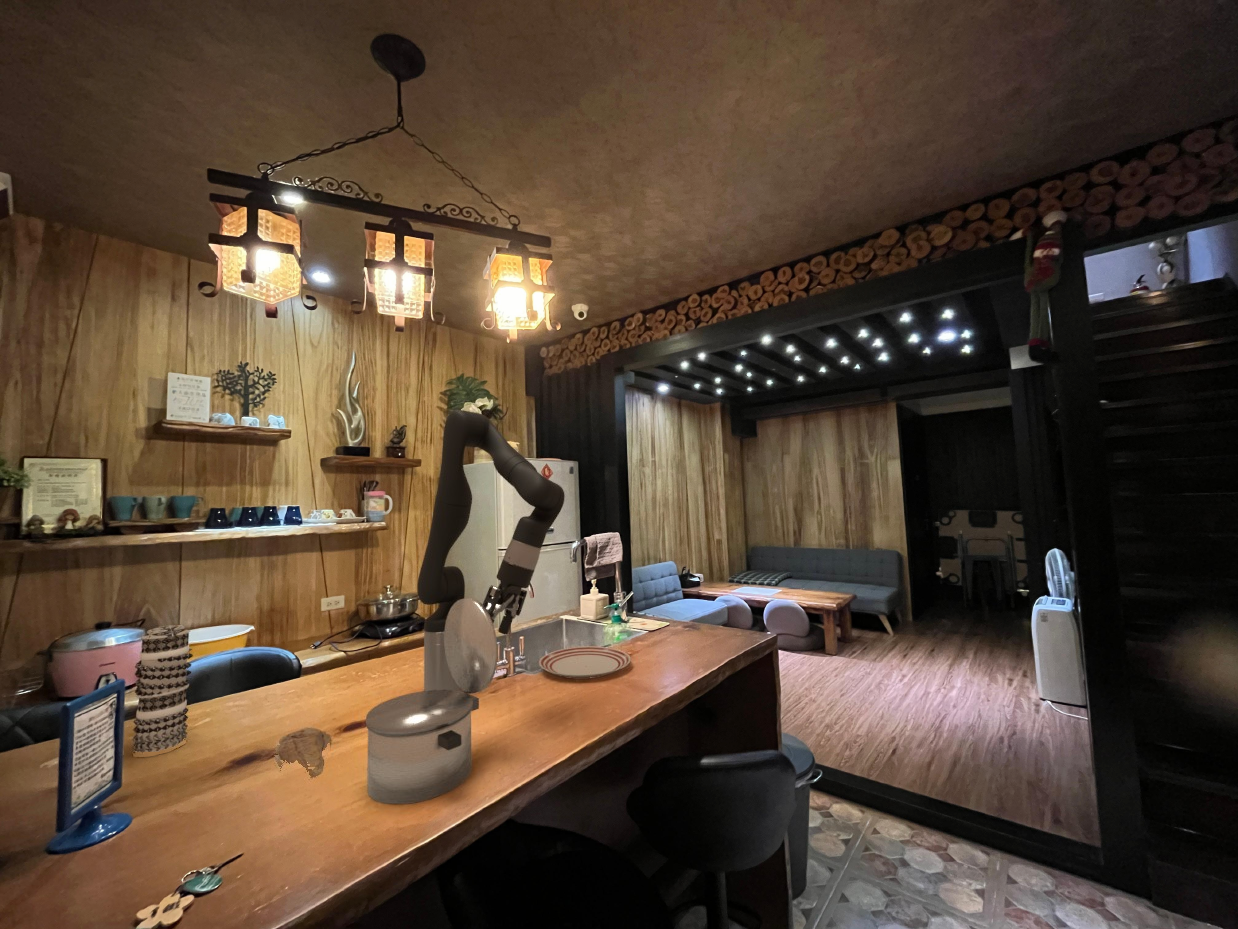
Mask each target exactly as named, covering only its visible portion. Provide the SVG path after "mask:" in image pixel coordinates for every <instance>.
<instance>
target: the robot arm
mask: <svg viewBox="0 0 1238 929" xmlns="http://www.w3.org/2000/svg"><path fill="white" fill-rule="evenodd" d="M466 448H478V449H480V450H482V451H484V452H486V453H487V454H488V455H490V456H491V458H492V463H493V466H494V468H495V470H496V472H497V473H498V474H499V476H501V478H503V479H504V480H505V481H506V482H507V483H508V484H509V485H511V486H512V487H513V488H514V490H515V491H516V493H518V495H519V496H520V497H521V499H523V500H524V501H525V502H526V503H527V504H528V505H529V506H532V507H534V509H533V510H532V511H531V514H530V515H528V516H522V517H520V519H518V522H517V524H516V526H515V528H514V531H513V535H512V536H511V539H510V542H509V543H508V546H507V548H506V550H505V552H504V555H503V558H502V561H501V563H500V566H499V569H498V571H497V574H496V579H497V580H498V581H499V584H498V586H495V585H490V586H489V588H488V591H487V592H486V596H484V597H485V598H484V600H483V603H482V605H483V606H484V607H485V608H486V610H487V612H488V613H489V615H490V617H491V620H492V622H493V624H494V623H495V619H496V618H497V616H498V615H499V614H500V613H503V614H504V615H503V616H502V619H501V622H500V624H499V627H498V633H500V634H502V635H508V634H509V631H510V629H511V625H512V622H513V620H514V619H515V618H516V617H518V616H520V615H521V613H522V609H523V606H524V604H525V600H526V597H527V594H528V590H526V589H528V588H529V587H530V583H531V581H532V579H533V575H534V573H535V570H536V567H537V564H538V563H539V558H540V554H541V549H542V547H543V545H544V541H545V539H546V536H547V533H548V531H549V530H550V529H551V527H552V525H553V524H554V523H555V521H556V519H557V517H558V516H559V514H560V513H561V510H562V509H563V506H564V503H565V498H566V497H565V491H564V489H563V487H562V486H561V485H560V484H558V483H556V482H554V481H552V480H550V479H548V478H547V477H545V476H544V475H542V474H541V473H540V472H538V470H537V468H536V467H535V465H533V464H532V463H531V462H530V461H529V460H528V459H526V458H525V457H524V456H523V455H522V454H521V453H520V452H518V450H516V449H515V448H514V447H513V446H511V444H510V443H509V442H508V441H507V439H506V438H505V437H504V436H503V435H502V434H501V432H500V430H499V429H498V428H497V427H496V426H495V425H494V424H493V422H492V421H491V420H490V419H489V417H487V415H484V414H482V413H478V412H474V411H468V410H463V409H455V410H452V411H451V412H450V413H449V414H448V416H447V418H446V421H445V425H444V427H443V437H442V449H441V450H442V451H441V461H440V462H441V463H440V470H439V479H438V483H437V484H438V485H437V491H436V494H435V499H434V503H433V511H432V516H431V517H432V518H431V525H430V530H429V535H428V541H427V545H426V549H425V552H424V557H423V560H422V563H421V567H420V570H419V574H418V579H417V586H416V589H417V597H418V600H419V601H420V603H422V604H423V605H427V606H428V605H429V606H430V605H431V606H432V605H437V604H439V605H438V608H437V609H436V610H435V611H434V612H433V613H432V614H431V615H429V616H428V617H426V618H425V620H424V624H423V625H424V626H423V629H424V630H423V640H424V641H423V642H424V643H423V644H424V645H423V646H424V647H423V648H424V649H423V656H424V657H423V659H424V661H423V664H424V666H423V669H424V670H423V691H429V690H456V691H461V692H462V689H461V688H460V687H459V686H458V685H457V684H456V682H455V681H454V679H453V677H452V675H451V673H450V670H449V667H448V664H447V660H446V655H445V647H444V631H445V624H446V619H447V616H448V613H449V611H450V609H451V607H452V606H453V605H454V603H455V602H457V601H458V600H460V599H465V596H466V595H465V594H466V591H465V588H466V585H465V584H466V583H465V576H464V573H463V572H462V570H461V569H460V568H459V567H458V566H454V565H450V566H449V565H448V566H445V565H446V562H447V559H448V558H447V557H448V555H449V553H450V551H451V550H452V547H453V546H454V545H455V543H456V542H457V541H458V539H459V538H460V537H461V535H462V534H463V532H464V530H465V529H466V527H467V526H468V523H469V520H470V517H471V510H472V504H473V494H472V489H471V486H470V484H469V482H468V481H469V480H468V479H467V475H466V472H465V468H464V458H465V457H464V456H465V450H466ZM503 611H504V612H503Z"/></svg>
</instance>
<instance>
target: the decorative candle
mask: <svg viewBox="0 0 1238 929" xmlns="http://www.w3.org/2000/svg"><path fill="white" fill-rule="evenodd" d="M190 632H191V630H190V629H187V628H186V626H185V625H183V624H169V625H162V626H156V627H153V628H150V629H148V630H147V631H146V632H145V634H144V635H143V636H141V637H140V639H141V651H140V652H139V661H137V662H136V664H135V667H134V668H135V669H137V670H136V671H135V672H134V676H135V677H136V678H138V679H137V680H136V681H135V685H134V686H136V689H135V690H134V693H135V697H136V698H137V699H138V702H137V705H138V706H137V707H138V708H137V710H136V714H135V715H136V716H135V719H134V720H133V724H134V725H135V726H134V728H133V730H132V731H133V732H134V733H135V734H134V735H133V737H132V742H133V744H132V746H131V748H132V750H133V752H134V751H137V752H142V753H143V752H155V751H159V750H164V749H168V748H171V747H174V746H176V745H178V744H179V743H181V742H182V741H183V739H184V738H185V739H186V738H187V735H188V732H187V728H188V727H189V725H188V724H187V723H186V721H187V720H188V719H189V716H188V715H187V713H188V712H189V708H187V704H188V703H187V702H188V700H187V699H186V698H187V689H188V688H189V686H190V683H191V682H190V680H188V679H187V676H190V675H191V673H192V670H189V668H191V667H192V663H191V662H188V660H190V659H191V658H193V657H194V655H193V654H192V653H190V652H192V651H193V649H192V648H190V644H189V641H190V640H189V639H190V638H189V637H190V636H189V635H190Z"/></svg>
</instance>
